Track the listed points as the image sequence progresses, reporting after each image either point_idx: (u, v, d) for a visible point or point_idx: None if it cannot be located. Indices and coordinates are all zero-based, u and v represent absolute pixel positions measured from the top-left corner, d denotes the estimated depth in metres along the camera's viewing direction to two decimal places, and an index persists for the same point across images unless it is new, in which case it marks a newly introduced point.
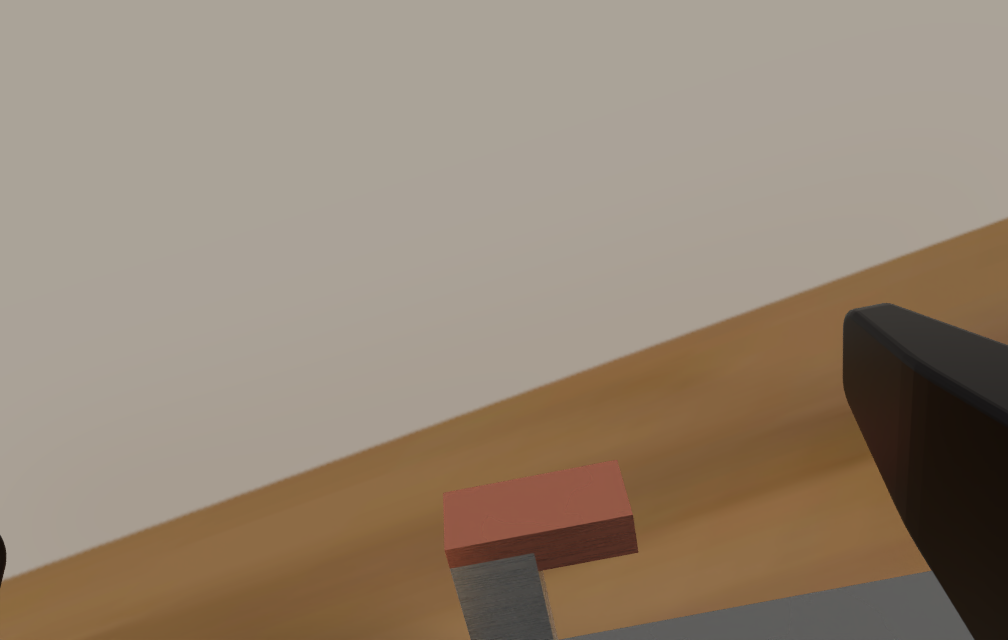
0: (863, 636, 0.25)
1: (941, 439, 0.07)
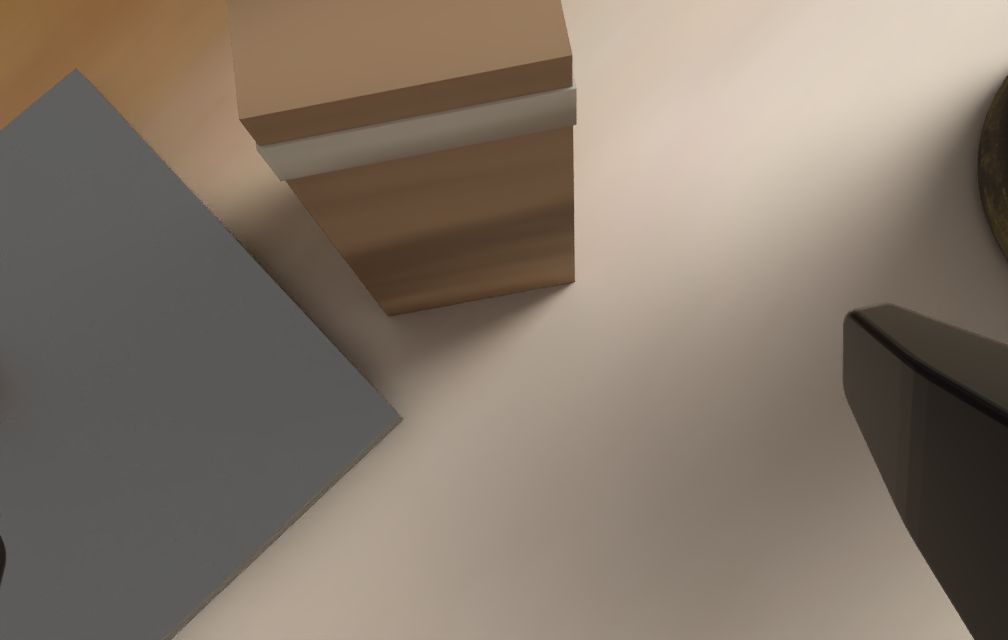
0: (18, 184, 0.25)
1: (941, 438, 0.07)
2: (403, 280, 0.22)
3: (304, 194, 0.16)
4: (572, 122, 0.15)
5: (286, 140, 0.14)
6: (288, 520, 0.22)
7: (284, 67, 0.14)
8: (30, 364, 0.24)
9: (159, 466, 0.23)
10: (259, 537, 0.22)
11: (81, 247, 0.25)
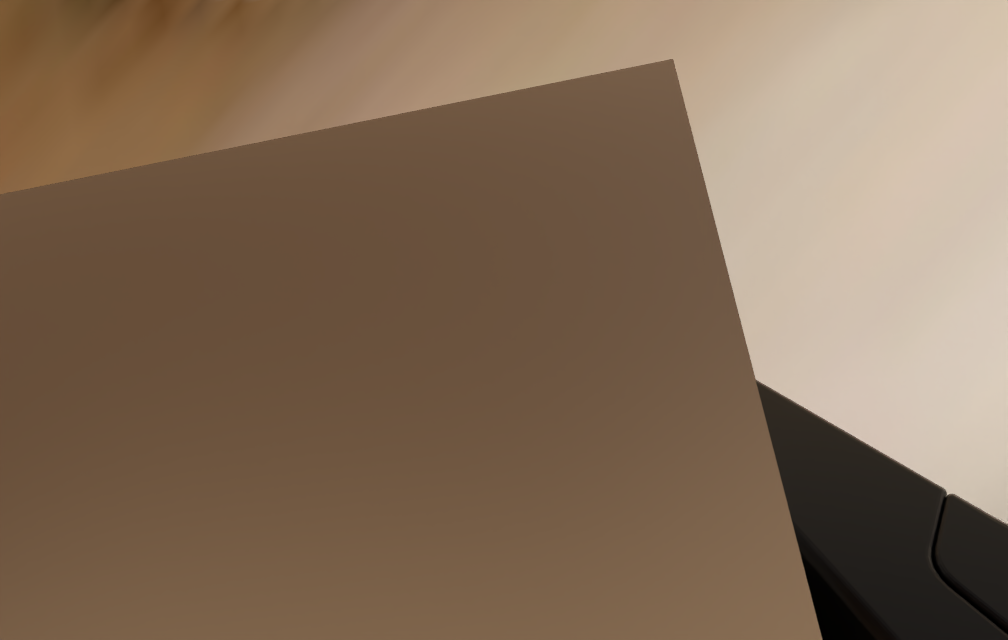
0: None
1: None
2: None
3: None
4: None
5: None
6: None
7: None
8: None
9: None
10: None
11: None
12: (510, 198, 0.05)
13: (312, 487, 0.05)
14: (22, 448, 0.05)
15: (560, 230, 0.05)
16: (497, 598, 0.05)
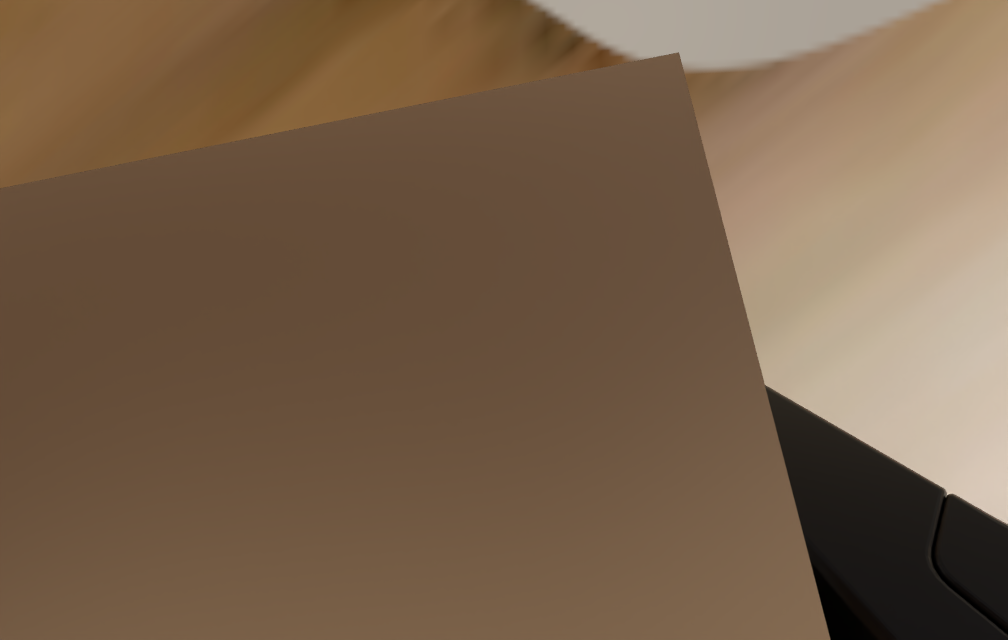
0: None
1: None
2: None
3: None
4: None
5: None
6: None
7: None
8: None
9: None
10: None
11: None
12: (516, 191, 0.05)
13: (319, 479, 0.05)
14: (29, 440, 0.05)
15: (565, 221, 0.05)
16: (504, 587, 0.05)
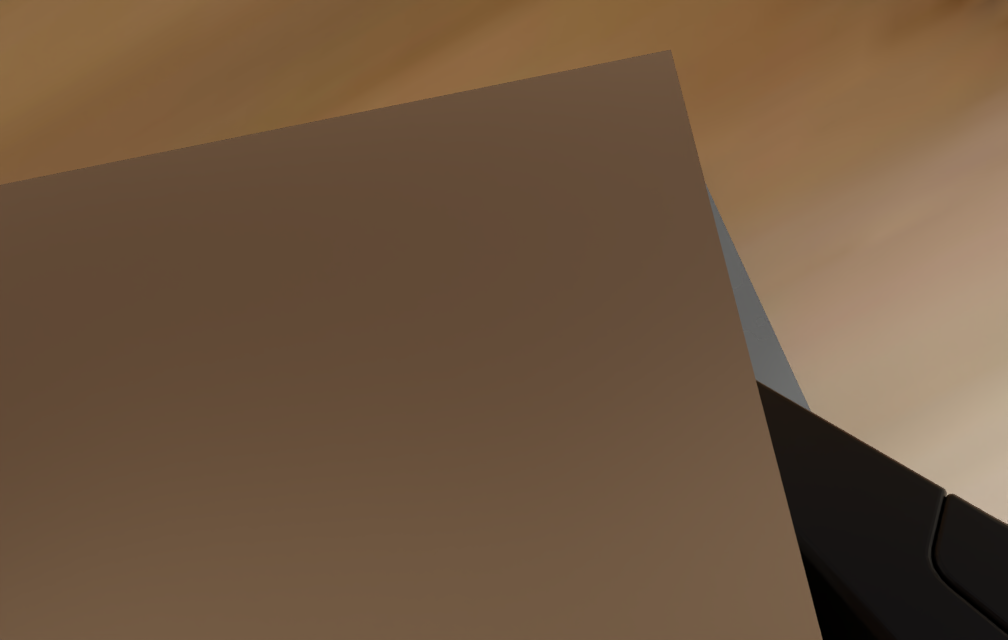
0: None
1: None
2: None
3: None
4: None
5: None
6: None
7: None
8: None
9: None
10: None
11: None
12: (508, 189, 0.05)
13: (310, 477, 0.05)
14: (20, 438, 0.05)
15: (558, 219, 0.05)
16: (493, 588, 0.05)
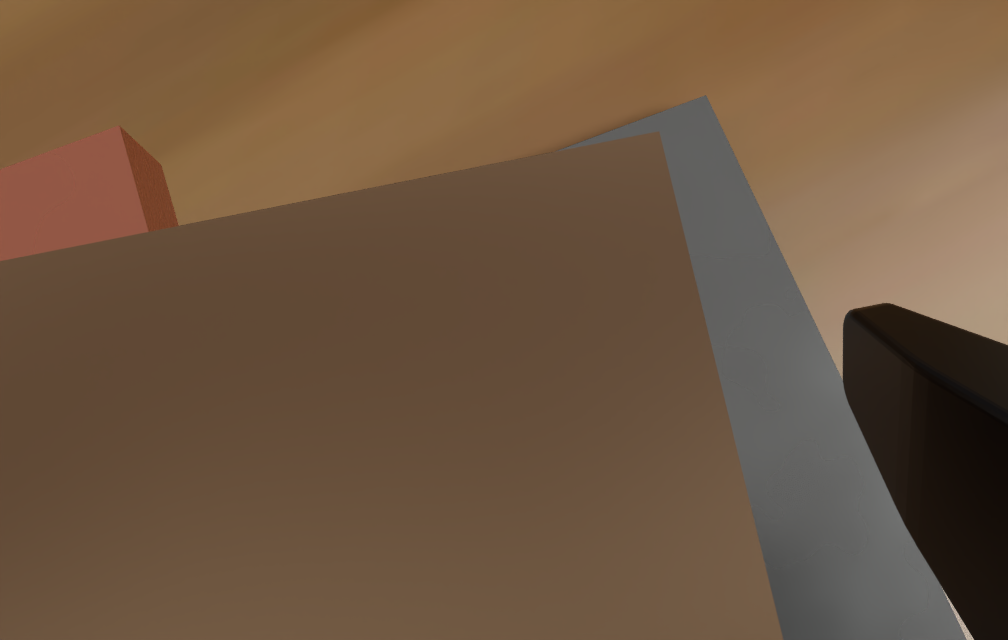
0: None
1: (941, 439, 0.07)
2: None
3: None
4: None
5: None
6: None
7: None
8: None
9: None
10: None
11: None
12: (520, 251, 0.06)
13: (354, 496, 0.06)
14: (108, 462, 0.06)
15: (564, 276, 0.06)
16: (510, 590, 0.05)
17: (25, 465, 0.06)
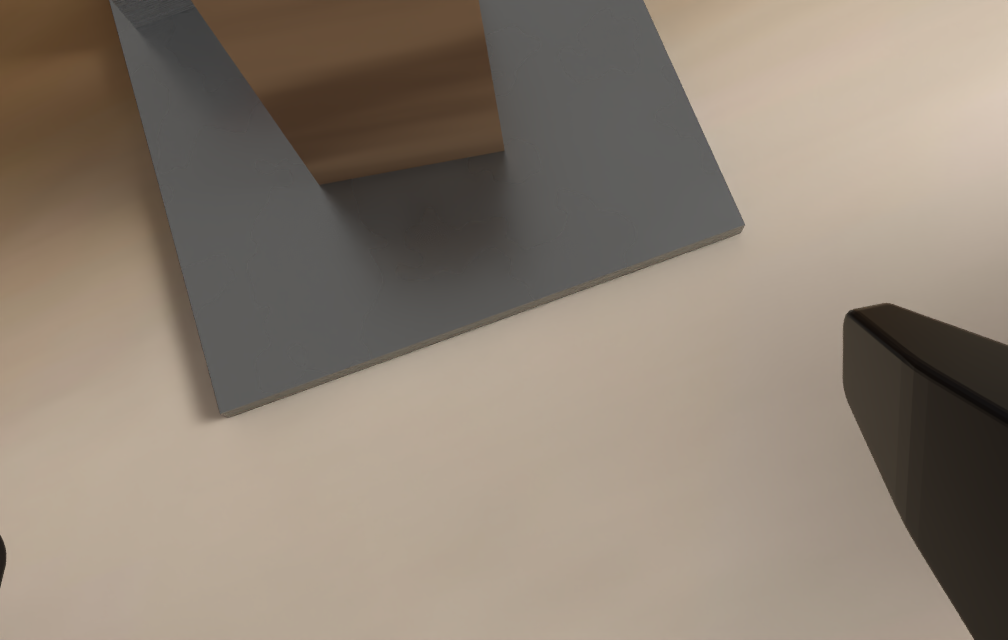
0: None
1: (941, 439, 0.07)
2: (326, 135, 0.22)
3: (203, 5, 0.16)
4: None
5: None
6: (607, 275, 0.23)
7: None
8: None
9: (507, 181, 0.24)
10: (577, 278, 0.23)
11: None
12: None
13: None
14: None
15: None
16: None
17: None
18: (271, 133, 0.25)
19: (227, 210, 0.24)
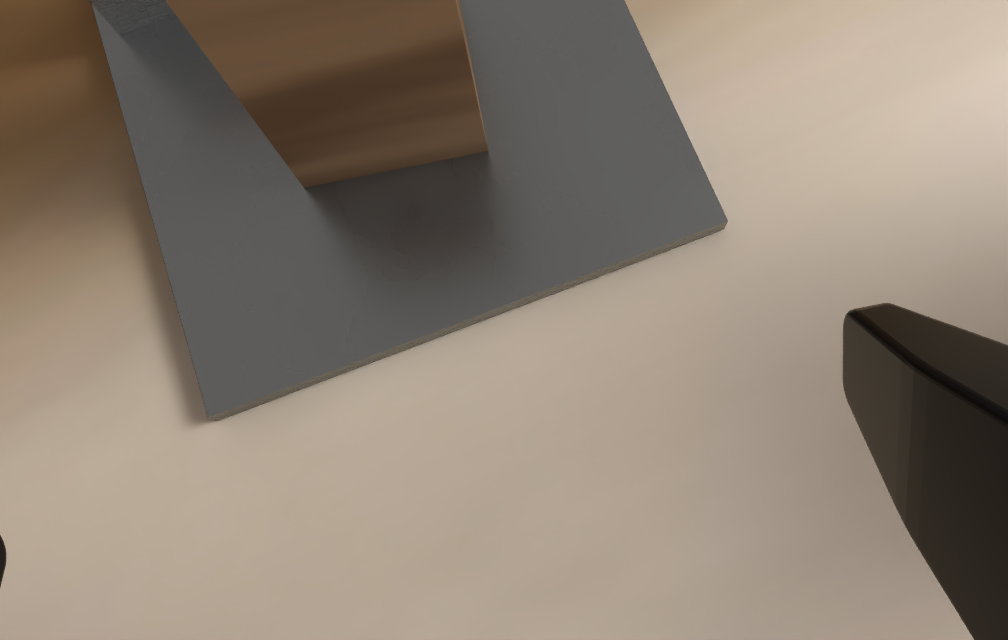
0: None
1: (941, 439, 0.07)
2: (309, 138, 0.22)
3: (181, 10, 0.16)
4: None
5: None
6: (591, 273, 0.23)
7: None
8: None
9: (491, 181, 0.24)
10: (561, 276, 0.23)
11: None
12: None
13: None
14: None
15: None
16: None
17: None
18: (256, 137, 0.25)
19: (212, 214, 0.24)
